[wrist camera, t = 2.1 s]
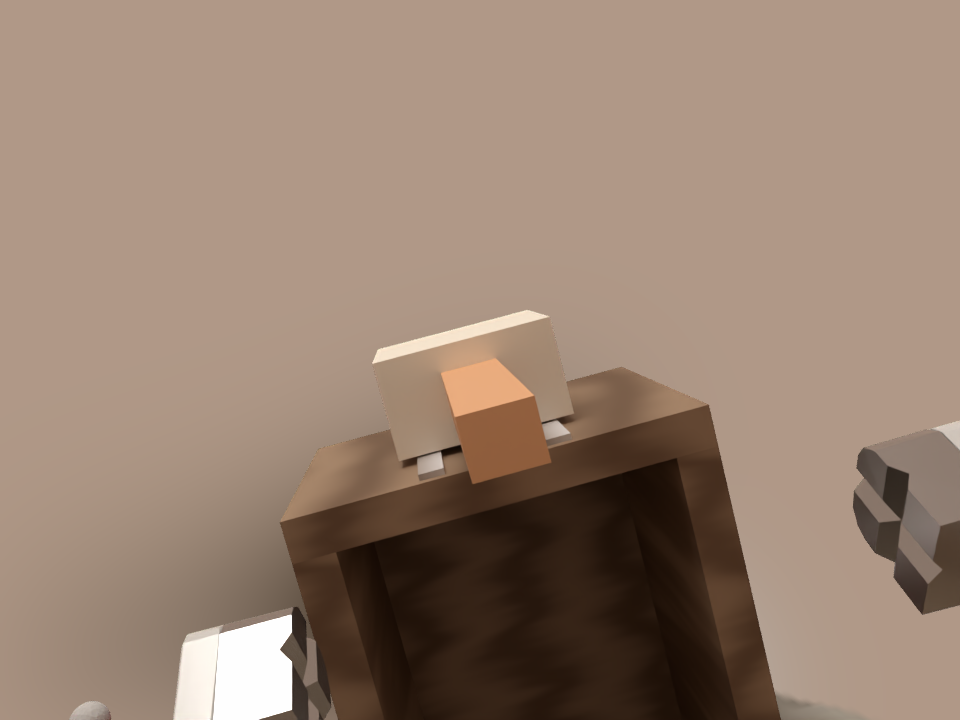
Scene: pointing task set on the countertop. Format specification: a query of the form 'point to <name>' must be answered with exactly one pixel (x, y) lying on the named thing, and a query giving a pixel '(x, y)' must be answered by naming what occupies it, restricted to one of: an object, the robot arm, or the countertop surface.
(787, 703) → the countertop surface
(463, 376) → the cream block mallet
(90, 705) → the pepper mill
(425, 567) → the walnut stand
